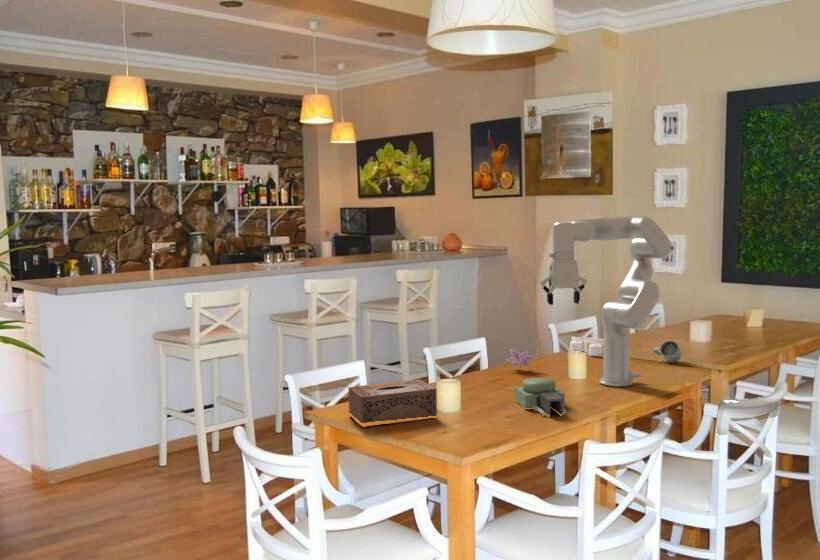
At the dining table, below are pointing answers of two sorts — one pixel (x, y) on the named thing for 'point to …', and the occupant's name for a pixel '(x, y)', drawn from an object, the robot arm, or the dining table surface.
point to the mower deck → (536, 392)
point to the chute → (550, 402)
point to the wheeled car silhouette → (594, 348)
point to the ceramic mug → (669, 351)
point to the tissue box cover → (392, 401)
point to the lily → (520, 358)
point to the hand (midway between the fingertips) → (563, 303)
